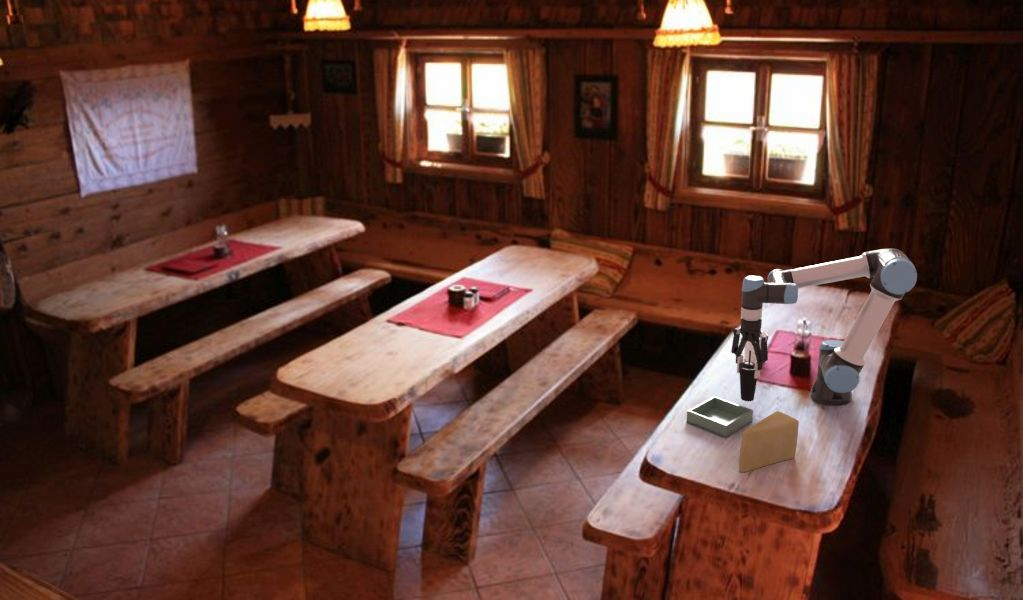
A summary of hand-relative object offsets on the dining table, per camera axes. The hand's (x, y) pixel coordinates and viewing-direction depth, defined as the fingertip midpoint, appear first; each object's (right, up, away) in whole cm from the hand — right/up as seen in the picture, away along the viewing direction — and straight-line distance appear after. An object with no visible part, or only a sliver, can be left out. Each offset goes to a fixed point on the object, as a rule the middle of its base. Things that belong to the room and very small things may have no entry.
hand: (748, 374), depth 333 cm
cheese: (-4, -27, -33) cm, 43 cm away
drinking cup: (0, -10, +3) cm, 10 cm away
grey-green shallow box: (-12, -17, -6) cm, 22 cm away
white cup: (+15, +2, +46) cm, 49 cm away
